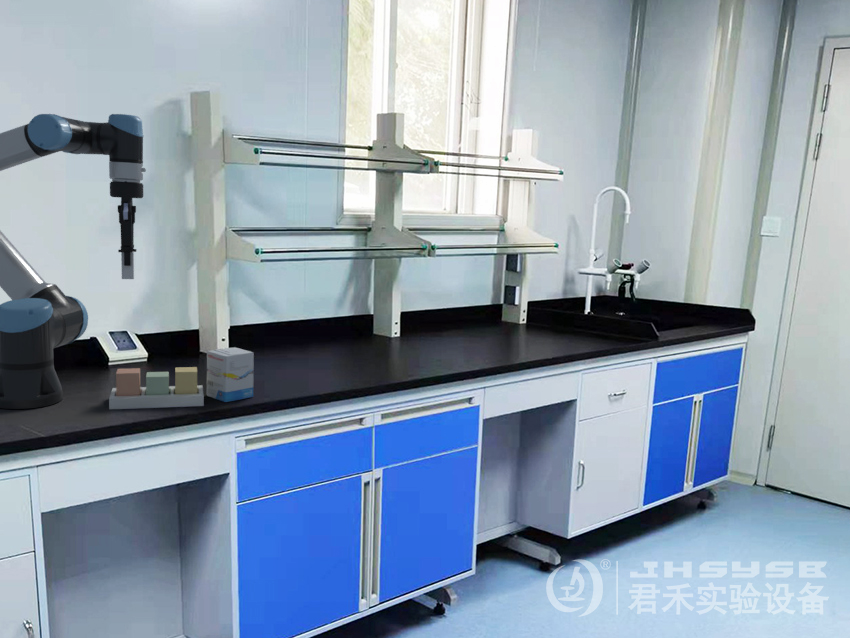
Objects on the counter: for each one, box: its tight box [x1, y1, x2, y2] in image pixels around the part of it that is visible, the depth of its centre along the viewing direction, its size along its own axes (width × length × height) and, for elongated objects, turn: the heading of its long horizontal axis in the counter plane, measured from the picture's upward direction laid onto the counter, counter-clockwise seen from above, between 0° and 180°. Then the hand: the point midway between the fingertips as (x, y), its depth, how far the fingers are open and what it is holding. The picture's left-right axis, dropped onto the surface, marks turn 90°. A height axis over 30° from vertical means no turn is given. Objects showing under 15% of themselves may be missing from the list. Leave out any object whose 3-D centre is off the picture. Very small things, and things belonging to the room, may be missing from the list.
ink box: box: [206, 346, 255, 403], centre depth 187 cm, size 9×8×12 cm
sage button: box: [145, 371, 170, 395], centre depth 179 cm, size 5×5×6 cm
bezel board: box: [108, 384, 205, 410], centre depth 179 cm, size 21×10×2 cm, turn 108°
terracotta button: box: [115, 367, 141, 396], centre depth 177 cm, size 5×5×6 cm
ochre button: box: [174, 366, 198, 394], centre depth 181 cm, size 5×5×6 cm
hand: (127, 278), depth 183 cm, fingers closed
